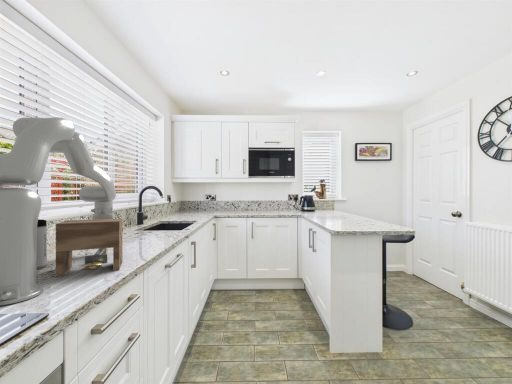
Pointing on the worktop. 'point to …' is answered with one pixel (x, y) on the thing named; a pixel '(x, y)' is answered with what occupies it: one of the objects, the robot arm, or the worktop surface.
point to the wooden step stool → (87, 240)
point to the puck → (93, 265)
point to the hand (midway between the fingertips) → (103, 246)
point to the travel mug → (41, 244)
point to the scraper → (97, 256)
